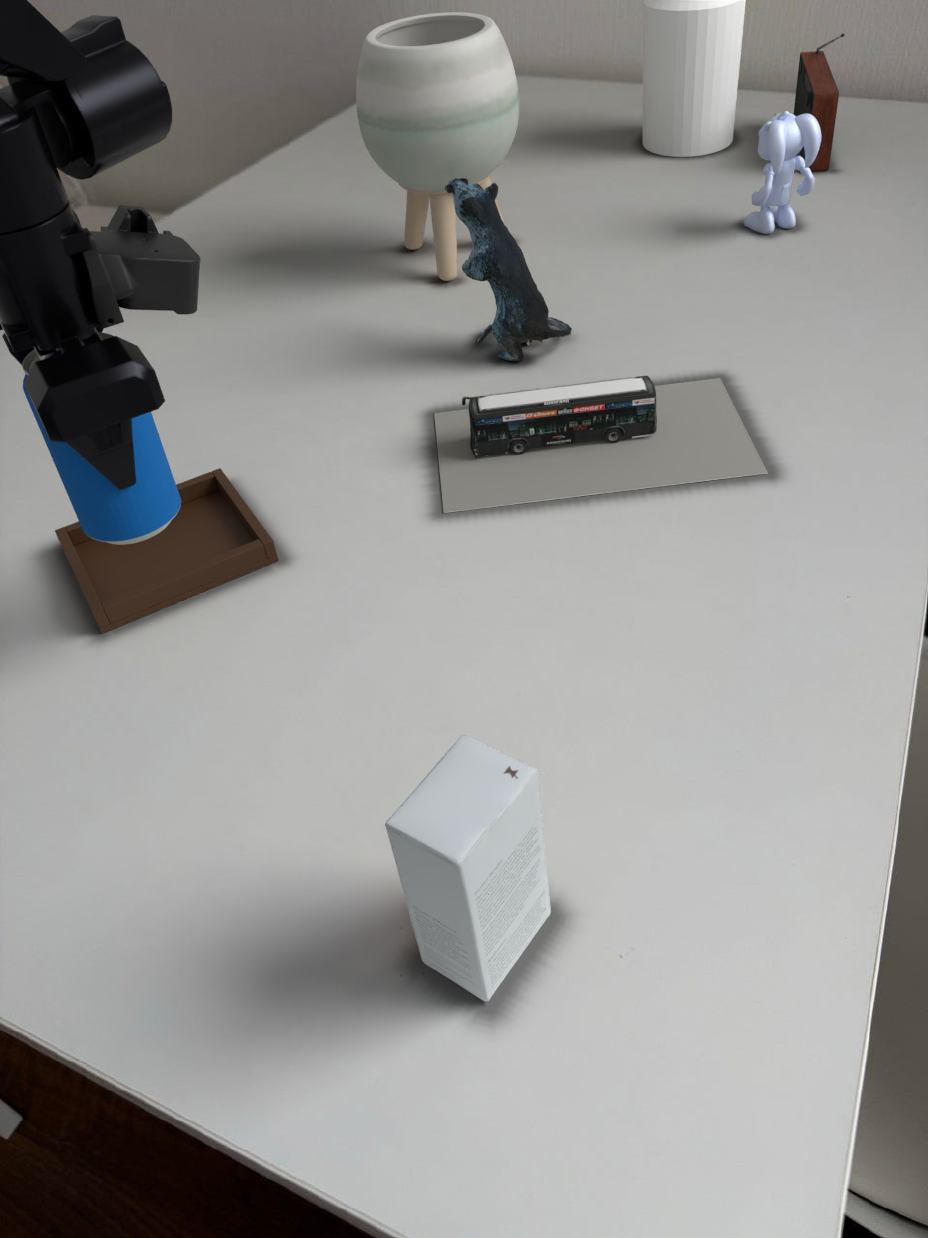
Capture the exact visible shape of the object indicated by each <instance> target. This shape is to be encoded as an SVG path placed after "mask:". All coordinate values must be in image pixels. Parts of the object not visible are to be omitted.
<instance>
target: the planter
mask: <svg viewBox="0 0 928 1238" xmlns="http://www.w3.org/2000/svg"><path fill="white" fill-rule="evenodd" d="M356 72H357V73H356V81H355V82H356V83H355V84H356V85H355V96H356V97H355V99H356V100H355V103H356V104H355V105H356V115H357V120H358V126H359V130H360V134H361V135H360V136H361V139H362V140H363V143H364V145H365V147H366V150H367V152H368V154H369V155H370V157H371V158H372V160H373V161H374V162H375V164H376V165H377V167H379V168H380V169H381V170H382V172H383V173H385V174H386V175H387V176H388V177H389V178H390V179H392V180H393V181H394V182H396V183H398V185H399V186H400V187H401V188H402V189H404V190H405V191H406V205H405V206H406V207H405V220H404V232H403V233H404V234H403V235H404V240H403V241H404V242H403V243H404V244H403V245H404V246H405V248H407V249H408V250H411V251H412V250H413V251H414V250H418V249H420V248H421V247H422V246H423V245H424V239H425V233H426V224H427V219H428V214H429V213H428V212H429V206H430V216H431V227H432V234H433V245H434V246H433V247H434V255H435V265H436V272H437V277H438V278H439V279H440V280H442V281H444V282H449V281H452V280H455V278H456V277H457V275H458V249H457V248H458V247H457V246H458V245H457V240H458V239H457V218H456V217H457V215H456V212H455V206H454V199H453V194H452V193H447V191H446V190H445V186H446V185H448V182H449V181H450V180H452V179H455V178H457V179H460V178H466V179H467V180H468V185H472V184H476V183H477V184H479V185H480V186H481V187H482V188H483V189H484V190H485V188H487V187H489V186H490V185H491V184H492V183H493V182H492V180H491V176H492V175H493V172H494V171H495V170H497V168H498V167H499V166H500V164H502V162H503V160H504V159H505V158H506V157H507V154H508V153H509V150H510V149H511V147H512V145H513V142H514V140H515V137H516V134H517V130H518V126H519V118H520V96H519V85H518V81H517V76H516V71H515V67H514V62H513V60H512V57H511V53H510V51H509V47H508V45H507V43H506V41H505V38H504V36H503V34H502V32H501V30H500V28H499V27H498V25H497V24H496V22H495V21H494V20H493V18H491V17H489V16H487V15H484V14H480V13H474V12H463V11H457V12H456V11H453V12H452V11H451V12H435V13H434V12H433V13H427V14H425V13H424V14H419V15H413V16H408V17H404V18H399V19H396V20H393V21H389V22H386V23H384V24H381V25H379V26H376V27H375V28H374V29H372V30H371V31H369V32H368V33H367V34H366V36H365V37H364V40H363V43H362V47H361V49H360V54H359V58H358V65H357V71H356ZM495 203H496V205H497V208H498V211H499V214H500V217H501V219H502V221H503V223H504V225H505V226H506V224H505V223H506V222H505V221H504V217H503V215H502V212H501V208H500V206H499V203H498V199H497V198H496V199H495Z"/></svg>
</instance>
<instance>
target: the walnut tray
mask: <svg viewBox="0 0 928 1238" xmlns="http://www.w3.org/2000/svg"><path fill="white" fill-rule="evenodd" d="M176 486H177V489H178V492H179V495H180V498H181V506H180V509H179V511H178V513H177V514H176V516H175V517H174V518H173V519H172V520H171V522H170V523H169V525H168V526H167V527H166V528H165V529H164V530H163V531H161V532H160V533H158V534H157V535H155V536H153V537H151V538H149V539H146V540H144V541H141V542H137V543H132V544H125V545H117V544H110V543H107V542H103V541H98V540H95V539H92V538H90V537H89V536H87V535H86V534H85V533H84V531H83V529H82V527H81V525H80V522H79V520H77V521H76V522H73V523H71V524H68V525H65V526H62V527H60V528H56V529H54V533H55V535H56V537H57V539H58V541H59V543H60V546H61V548H62V550H63V552H64V555H65V556H66V559H67V561H68V563H69V565H70V566H69V567H70V568H71V570H72V572H73V574H74V576H75V579H76V580H77V583H78V585H79V587H80V590H81V591H82V594H83V597H84V598H85V601H86V603H87V605H88V607H89V609H90V611H91V614H92V616H93V618H94V620H95V622H96V624H97V627H98V629H99V631H100V633H101V634H105V633H108V632H110V631H112V630H114V629H117V628H120V627H122V626H124V625H126V624H129V623H131V622H133V621H136V620H138V619H141V618H144V617H146V616H148V615H151V614H153V613H156V612H158V611H160V610H163V609H165V608H168V607H170V606H173V605H175V604H178V603H180V602H183V601H185V600H187V599H189V598H192V597H194V596H197V595H199V594H201V593H204V592H206V591H209V590H212V589H215V588H216V587H218V586H220V585H223V584H225V583H228V582H231V581H233V580H235V579H238V578H240V577H243V576H245V575H247V574H250V573H252V572H255V571H257V570H260V569H263V568H264V567H266V566H267V567H268V566H269V565H272V564H274V563H276V562H279V560H280V559H279V556H278V553H277V549H276V545H275V541H274V539H273V538H272V537H271V535H270V534H269V532H268V531H267V530H266V528H265V527H264V526H263V524H262V523H261V521H260V520H259V519H258V518H257V516H256V515H255V513H254V512H253V511H252V509H251V508H250V507H249V505H248V504H247V502H246V501H245V499H244V498H243V497H242V496H241V494H240V493H239V492H238V490H237V488H235V486H234V485H233V484H232V482H231V481H230V479H229V477H228V476H227V475H226V474H225V473H224V471H223V470H222V468H221V467H219V468H217V469H213V470H212V471H208V472H206V473H203V474H201V475H198V476H195V477H193V478H190V479H187V480H184V481H182V482H179V483H177V484H176Z"/></svg>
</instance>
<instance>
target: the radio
mask: <svg viewBox="0 0 928 1238" xmlns="http://www.w3.org/2000/svg"><path fill="white" fill-rule="evenodd" d="M843 37H845V33H841V34H840V35H839V36H837V37H836V38H834V39H831V40H829V41H828V42H826V43H824V44H821V45H820V46H818V47H816V51H802V52H799V60H798V68H797V69H798V70H797V77H796V78H797V79H796V88H795V98H794V105H793V106H794V107H793V115H795V116H796V117H797V116H799V115H801V114H811V115H813V116H814V117H815V118H816V120H817V121H818V124H819V126H820V130H821V143H820V148H819V151H818V154H817V156H816V158H815V160H814V162H813V163H812V164H811V165H810V166H809V167H808V168H809V169H810V170H811V172H816V171H819V172H820V171H829V170H830V163H831V155H832V149H833V141H834V133H835V127H836V119H837V113H838V105H839V97H840V92H839V89H838V86H837V83H836V80H835V78H834V76H833V73H832V70H831V68H830V65H829V62H828V60H827V57H826V54H825V52H824V50H822V49H823V48H825V47H827V46H828V45H830V44H833V43H834V42H835V41H837V40H838V39H840V38H843ZM799 156H801V157H802V158H803V159H804V161H805V150H804V146H803V148H802V149H801V151H800V152H799Z"/></svg>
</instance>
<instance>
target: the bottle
mask: <svg viewBox="0 0 928 1238" xmlns="http://www.w3.org/2000/svg"><path fill="white" fill-rule="evenodd" d="M746 1H747V0H642V146H643V148H644V149H645V150H647V151H649V152H650V153H653V154H656V155H660V156H664V157H672V158H673V157H674V158H688V157H689V158H691V157H700V156H706V155H710V154H711V155H712V154H714V153H717V152H720V151H722V150H724V149H726V148H728V147H729V146H730V145H731V144H732V143H733V141H734V131H735V119H736V109H737V98H738V89H739V76H740V67H741V57H742V45H743V34H744V23H745V15H746V14H745V13H746V4H747V3H746Z"/></svg>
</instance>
